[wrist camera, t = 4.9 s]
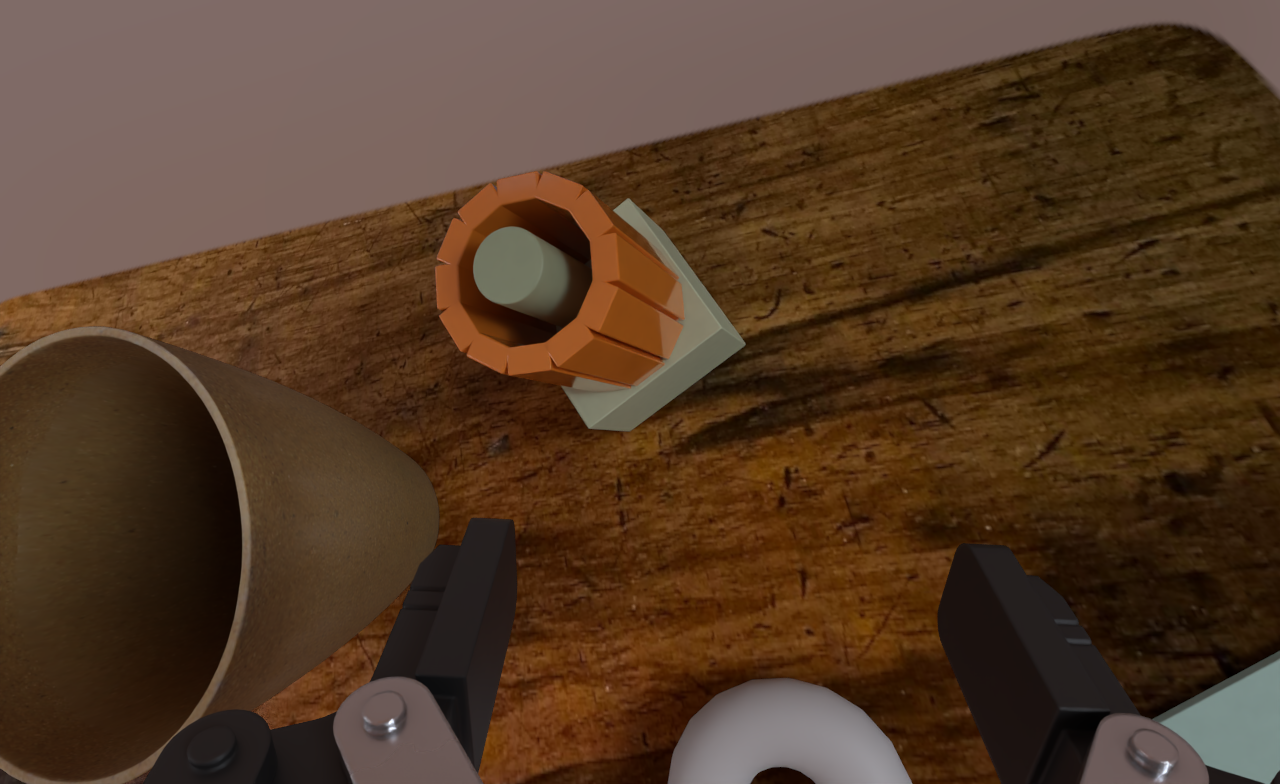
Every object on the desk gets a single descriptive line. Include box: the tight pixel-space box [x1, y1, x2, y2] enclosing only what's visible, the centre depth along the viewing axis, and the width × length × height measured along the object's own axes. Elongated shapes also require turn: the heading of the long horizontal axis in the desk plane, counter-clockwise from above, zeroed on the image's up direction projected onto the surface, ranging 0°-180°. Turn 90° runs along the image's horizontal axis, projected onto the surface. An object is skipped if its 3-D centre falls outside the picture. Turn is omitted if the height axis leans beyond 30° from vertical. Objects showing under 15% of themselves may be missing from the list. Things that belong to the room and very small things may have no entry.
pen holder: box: [435, 171, 685, 393], centre depth 27 cm, size 6×6×8 cm
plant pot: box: [0, 326, 439, 784], centre depth 32 cm, size 15×15×16 cm
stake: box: [473, 199, 746, 431], centre depth 29 cm, size 7×7×14 cm
